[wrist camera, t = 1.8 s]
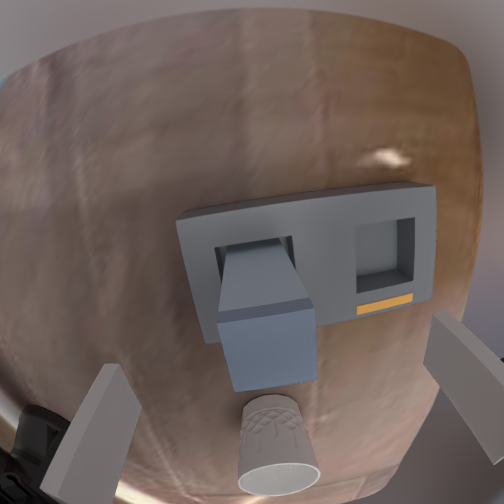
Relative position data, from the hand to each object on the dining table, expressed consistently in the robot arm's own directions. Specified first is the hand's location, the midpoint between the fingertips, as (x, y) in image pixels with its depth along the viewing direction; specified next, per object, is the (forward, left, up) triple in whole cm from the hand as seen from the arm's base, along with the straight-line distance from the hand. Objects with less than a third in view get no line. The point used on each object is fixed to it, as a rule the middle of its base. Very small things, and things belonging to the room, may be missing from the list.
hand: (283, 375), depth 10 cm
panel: (+5, 0, -15) cm, 15 cm away
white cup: (-1, -19, -15) cm, 24 cm away
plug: (0, 0, -14) cm, 14 cm away
